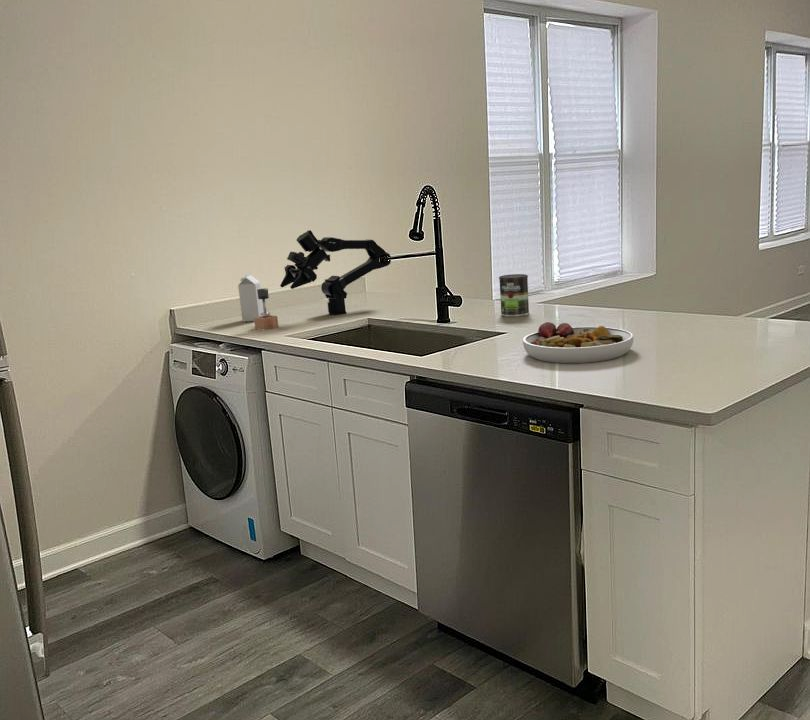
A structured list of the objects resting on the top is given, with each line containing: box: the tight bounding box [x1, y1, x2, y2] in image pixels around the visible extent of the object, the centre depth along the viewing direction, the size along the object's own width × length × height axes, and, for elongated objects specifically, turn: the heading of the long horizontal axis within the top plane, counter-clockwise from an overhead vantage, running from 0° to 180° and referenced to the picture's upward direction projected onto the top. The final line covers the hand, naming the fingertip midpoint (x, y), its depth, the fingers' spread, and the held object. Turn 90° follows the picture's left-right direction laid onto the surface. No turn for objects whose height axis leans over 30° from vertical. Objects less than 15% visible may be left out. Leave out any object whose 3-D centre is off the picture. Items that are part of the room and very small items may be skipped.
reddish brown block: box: [253, 314, 279, 330], centre depth 320 cm, size 6×9×4 cm
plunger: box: [257, 287, 271, 316], centre depth 319 cm, size 4×4×10 cm
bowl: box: [522, 321, 634, 364], centre depth 234 cm, size 30×30×8 cm
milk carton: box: [237, 272, 265, 323], centre depth 341 cm, size 7×7×19 cm
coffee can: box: [498, 273, 530, 318], centre depth 304 cm, size 10×10×14 cm
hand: (285, 287), depth 328 cm, fingers open, 9 cm apart
